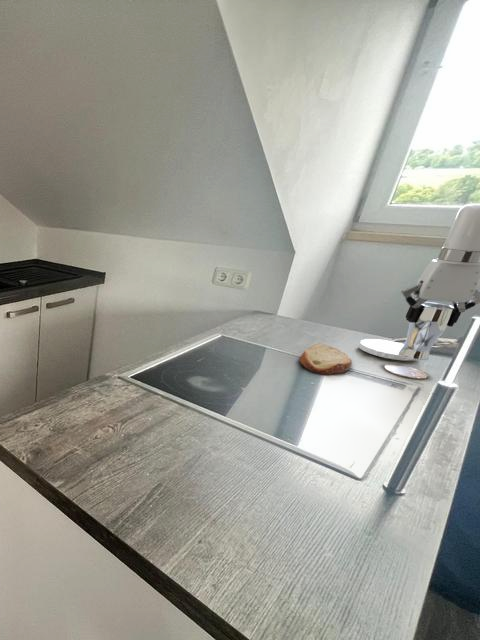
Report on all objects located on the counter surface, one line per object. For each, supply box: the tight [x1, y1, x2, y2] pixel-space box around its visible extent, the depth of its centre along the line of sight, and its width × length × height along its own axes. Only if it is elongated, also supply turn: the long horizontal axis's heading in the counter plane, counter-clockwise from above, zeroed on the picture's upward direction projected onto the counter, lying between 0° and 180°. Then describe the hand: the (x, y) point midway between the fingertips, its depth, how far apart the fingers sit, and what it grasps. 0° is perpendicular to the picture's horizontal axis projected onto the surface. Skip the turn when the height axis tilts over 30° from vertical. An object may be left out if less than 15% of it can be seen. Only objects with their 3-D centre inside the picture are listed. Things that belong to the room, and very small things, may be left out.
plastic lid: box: [358, 338, 413, 362], centre depth 123 cm, size 14×14×2 cm
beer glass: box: [398, 301, 455, 362], centre depth 106 cm, size 7×7×15 cm
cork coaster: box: [383, 363, 429, 380], centre depth 112 cm, size 9×9×1 cm
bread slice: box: [299, 343, 352, 375], centre depth 118 cm, size 18×18×4 cm
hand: (428, 322), depth 105 cm, fingers closed on beer glass, 7 cm apart
